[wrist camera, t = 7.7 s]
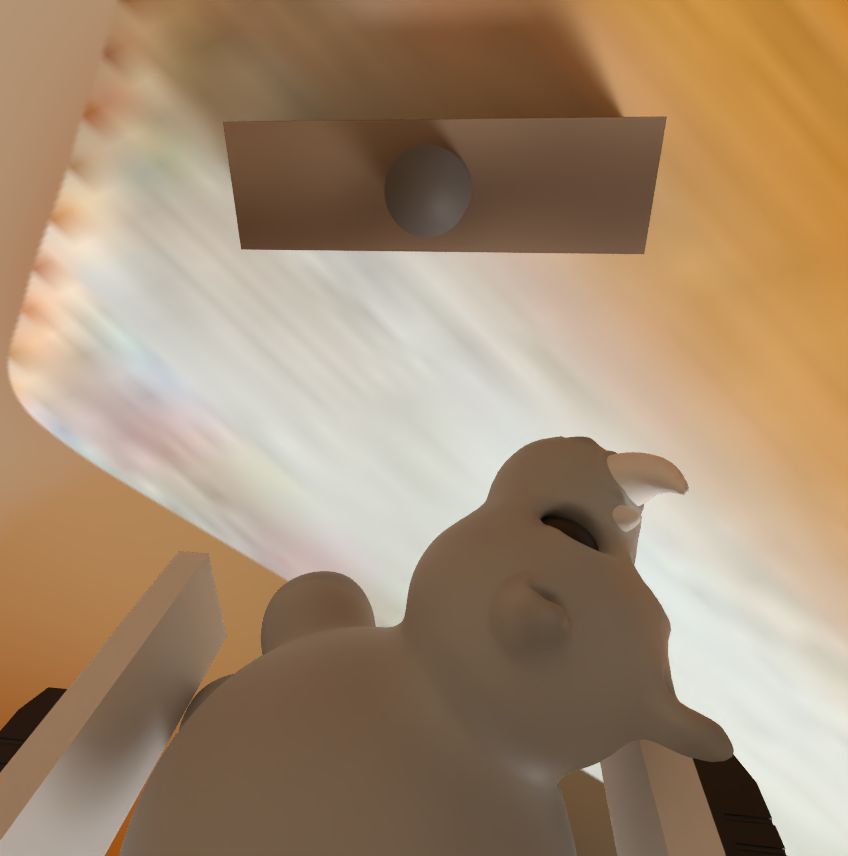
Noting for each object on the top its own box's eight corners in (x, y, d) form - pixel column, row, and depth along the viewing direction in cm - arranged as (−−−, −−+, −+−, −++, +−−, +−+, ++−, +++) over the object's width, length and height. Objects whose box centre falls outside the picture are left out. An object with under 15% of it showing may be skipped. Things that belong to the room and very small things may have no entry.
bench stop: (276, 130, 22) (175, 113, 15) (628, 127, 21) (701, 106, 14) (287, 233, 24) (201, 262, 17) (613, 236, 23) (670, 269, 16)
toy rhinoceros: (653, 506, 14) (1081, 734, 6) (368, 848, 15) (409, 1503, 6) (450, 329, 13) (657, 312, 5) (135, 716, 13) (-209, 1364, 5)
